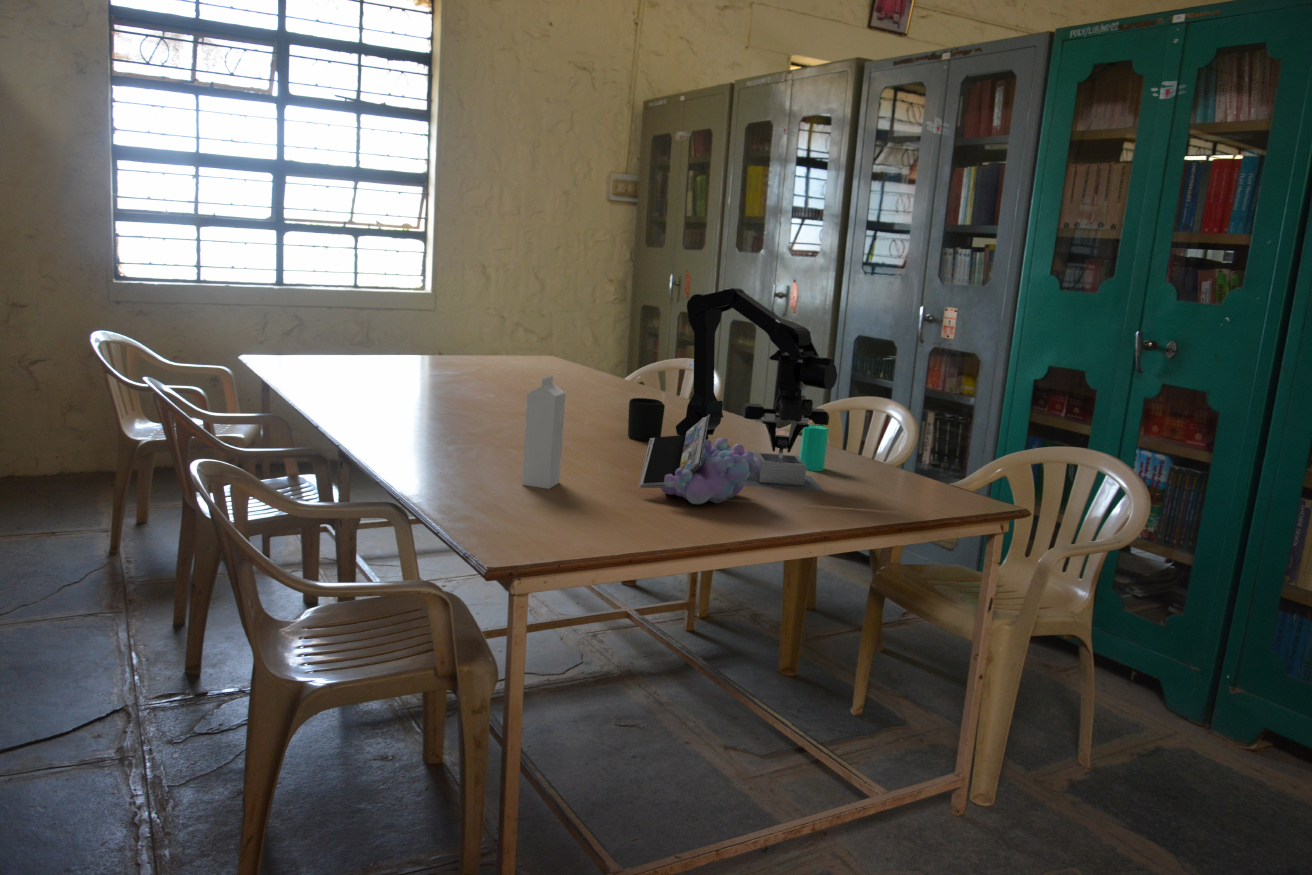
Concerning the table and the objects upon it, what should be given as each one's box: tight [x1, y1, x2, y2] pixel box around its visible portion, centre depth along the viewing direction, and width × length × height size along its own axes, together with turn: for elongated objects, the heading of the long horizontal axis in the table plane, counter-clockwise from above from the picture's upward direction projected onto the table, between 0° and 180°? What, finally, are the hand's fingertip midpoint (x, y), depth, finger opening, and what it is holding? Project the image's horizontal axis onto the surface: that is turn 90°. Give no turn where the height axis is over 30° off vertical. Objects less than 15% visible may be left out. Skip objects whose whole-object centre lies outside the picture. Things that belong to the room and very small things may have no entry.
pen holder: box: [627, 397, 666, 442], centre depth 249 cm, size 9×9×10 cm
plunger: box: [775, 434, 789, 462], centre depth 212 cm, size 7×7×8 cm
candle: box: [799, 424, 829, 472], centre depth 229 cm, size 6×6×12 cm
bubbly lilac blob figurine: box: [638, 414, 762, 505], centre depth 190 cm, size 20×22×18 cm
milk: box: [521, 375, 566, 490], centre depth 190 cm, size 6×6×22 cm
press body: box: [753, 451, 807, 487], centre depth 213 cm, size 13×10×5 cm
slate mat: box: [745, 473, 825, 492], centre depth 213 cm, size 18×14×1 cm
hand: (780, 451), depth 212 cm, fingers closed on plunger, 3 cm apart
